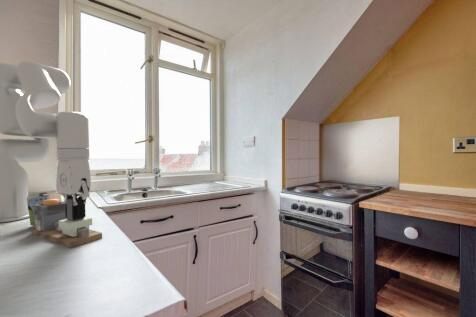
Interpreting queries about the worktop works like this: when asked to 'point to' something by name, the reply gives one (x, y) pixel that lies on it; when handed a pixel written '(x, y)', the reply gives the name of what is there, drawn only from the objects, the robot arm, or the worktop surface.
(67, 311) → the worktop surface
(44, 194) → the beverage can
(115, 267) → the worktop surface
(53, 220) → the rail bench
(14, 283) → the worktop surface
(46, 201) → the plunger
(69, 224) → the carriage
